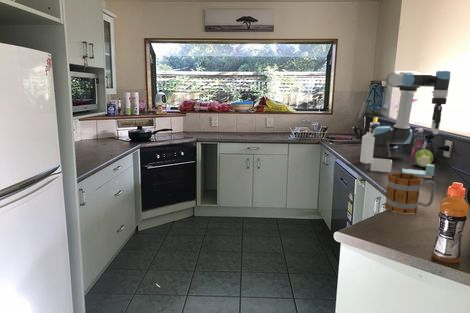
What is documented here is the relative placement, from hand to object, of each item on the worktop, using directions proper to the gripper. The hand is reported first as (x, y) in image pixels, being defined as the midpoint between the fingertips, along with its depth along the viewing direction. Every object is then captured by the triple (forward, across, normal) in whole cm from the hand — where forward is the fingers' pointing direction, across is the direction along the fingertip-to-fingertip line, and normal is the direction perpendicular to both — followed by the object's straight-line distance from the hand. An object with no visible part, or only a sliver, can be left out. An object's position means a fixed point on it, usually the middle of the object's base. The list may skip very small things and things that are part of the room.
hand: (434, 132), depth 213 cm
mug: (+25, +80, -14) cm, 84 cm away
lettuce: (+27, -21, -2) cm, 34 cm away
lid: (+25, +6, -6) cm, 27 cm away
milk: (+27, -12, -38) cm, 48 cm away
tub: (+26, +7, -28) cm, 39 cm away
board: (+26, +6, -6) cm, 28 cm away
